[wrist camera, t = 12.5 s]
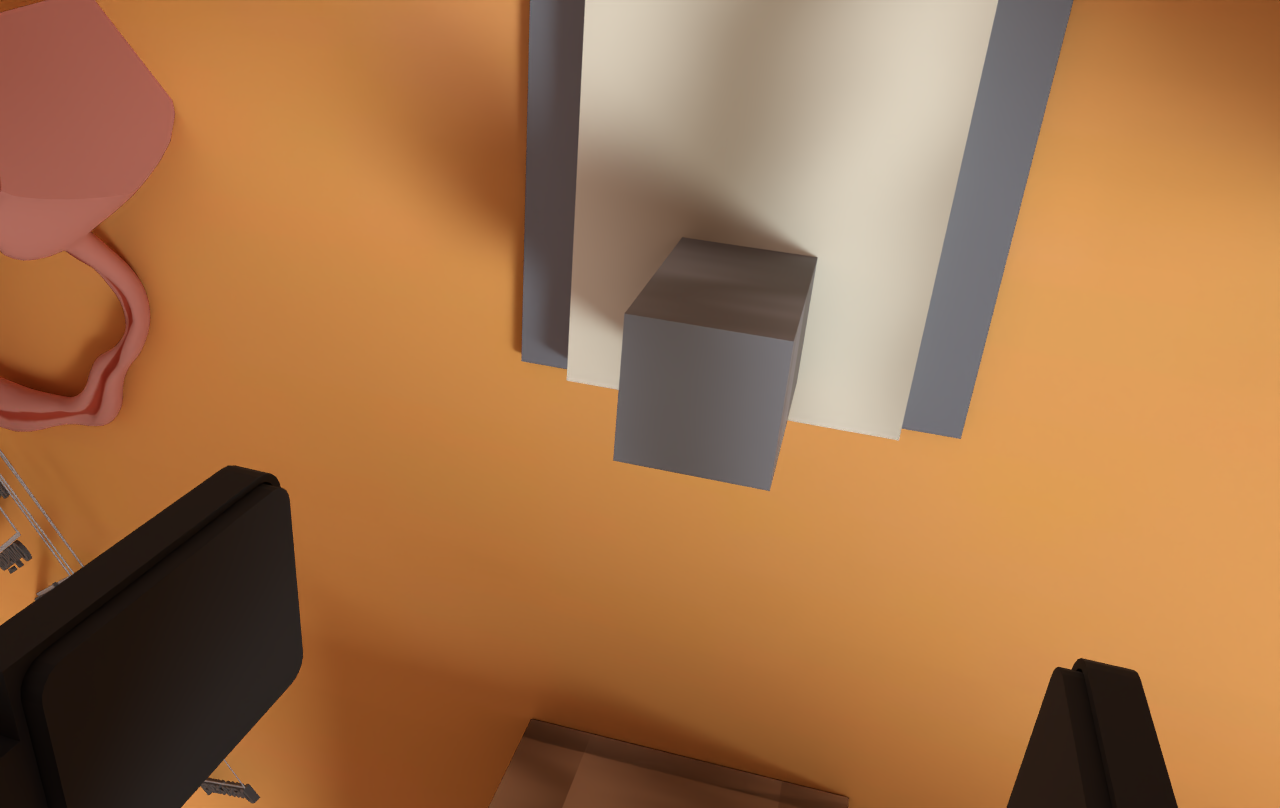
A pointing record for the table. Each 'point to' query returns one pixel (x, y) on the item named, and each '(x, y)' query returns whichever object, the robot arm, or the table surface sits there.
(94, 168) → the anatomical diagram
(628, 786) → the box
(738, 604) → the table surface
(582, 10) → the mat
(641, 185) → the lid
